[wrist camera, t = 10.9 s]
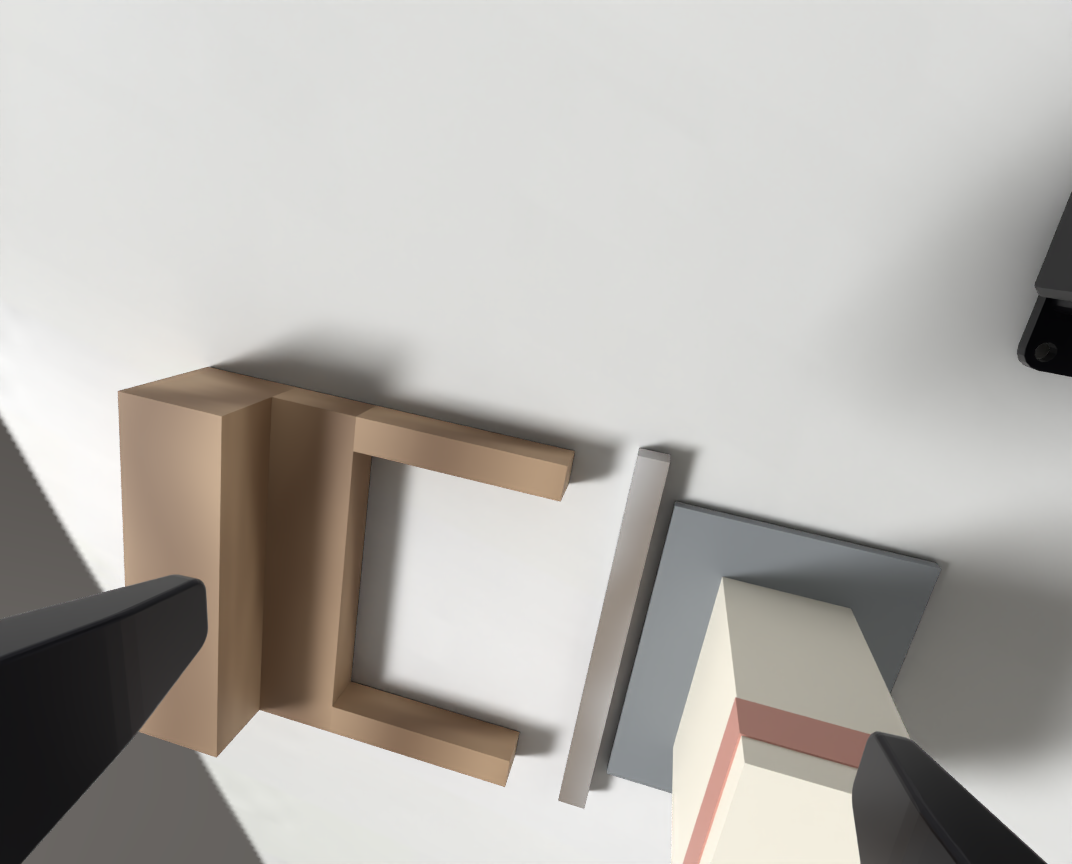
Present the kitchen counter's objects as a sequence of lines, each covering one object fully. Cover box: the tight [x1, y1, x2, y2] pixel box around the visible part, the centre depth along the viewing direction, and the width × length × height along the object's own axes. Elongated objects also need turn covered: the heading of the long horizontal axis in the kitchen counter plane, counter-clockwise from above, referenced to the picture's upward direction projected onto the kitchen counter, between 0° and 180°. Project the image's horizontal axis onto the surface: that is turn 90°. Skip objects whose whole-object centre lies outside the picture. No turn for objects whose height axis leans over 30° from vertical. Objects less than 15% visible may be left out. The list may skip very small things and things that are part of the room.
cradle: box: [118, 367, 670, 809], centre depth 22 cm, size 16×14×4 cm
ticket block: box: [671, 577, 910, 864], centre depth 18 cm, size 4×7×8 cm, turn 170°
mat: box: [607, 501, 941, 793], centre depth 22 cm, size 8×11×1 cm
